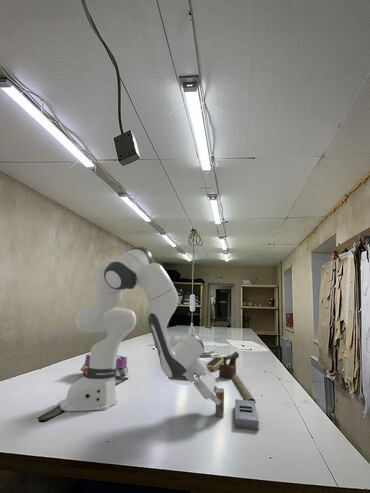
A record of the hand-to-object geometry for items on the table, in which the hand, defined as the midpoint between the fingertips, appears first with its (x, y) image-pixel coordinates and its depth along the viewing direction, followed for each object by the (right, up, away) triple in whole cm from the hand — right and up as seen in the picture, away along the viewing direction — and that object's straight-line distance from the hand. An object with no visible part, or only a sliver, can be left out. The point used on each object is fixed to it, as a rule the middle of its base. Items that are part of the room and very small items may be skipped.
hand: (220, 399), depth 117 cm
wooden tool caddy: (+14, -18, +62) cm, 66 cm away
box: (+5, -21, +81) cm, 84 cm away
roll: (+15, -13, +34) cm, 40 cm away
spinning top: (-59, -13, +52) cm, 80 cm away
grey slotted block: (+10, -6, -2) cm, 11 cm away
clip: (0, -6, -1) cm, 6 cm away
